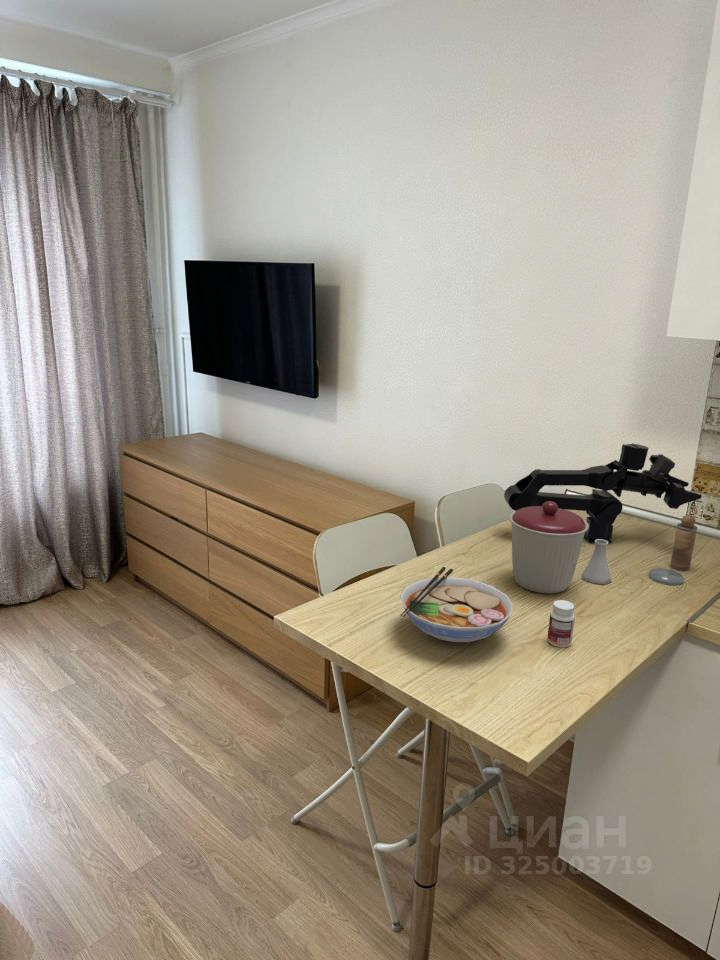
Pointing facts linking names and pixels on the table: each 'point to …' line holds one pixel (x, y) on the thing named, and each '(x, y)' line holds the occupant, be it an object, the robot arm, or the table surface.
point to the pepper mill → (684, 544)
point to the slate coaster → (666, 576)
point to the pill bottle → (561, 624)
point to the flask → (598, 565)
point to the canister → (546, 546)
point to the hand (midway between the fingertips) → (694, 490)
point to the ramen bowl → (456, 607)
